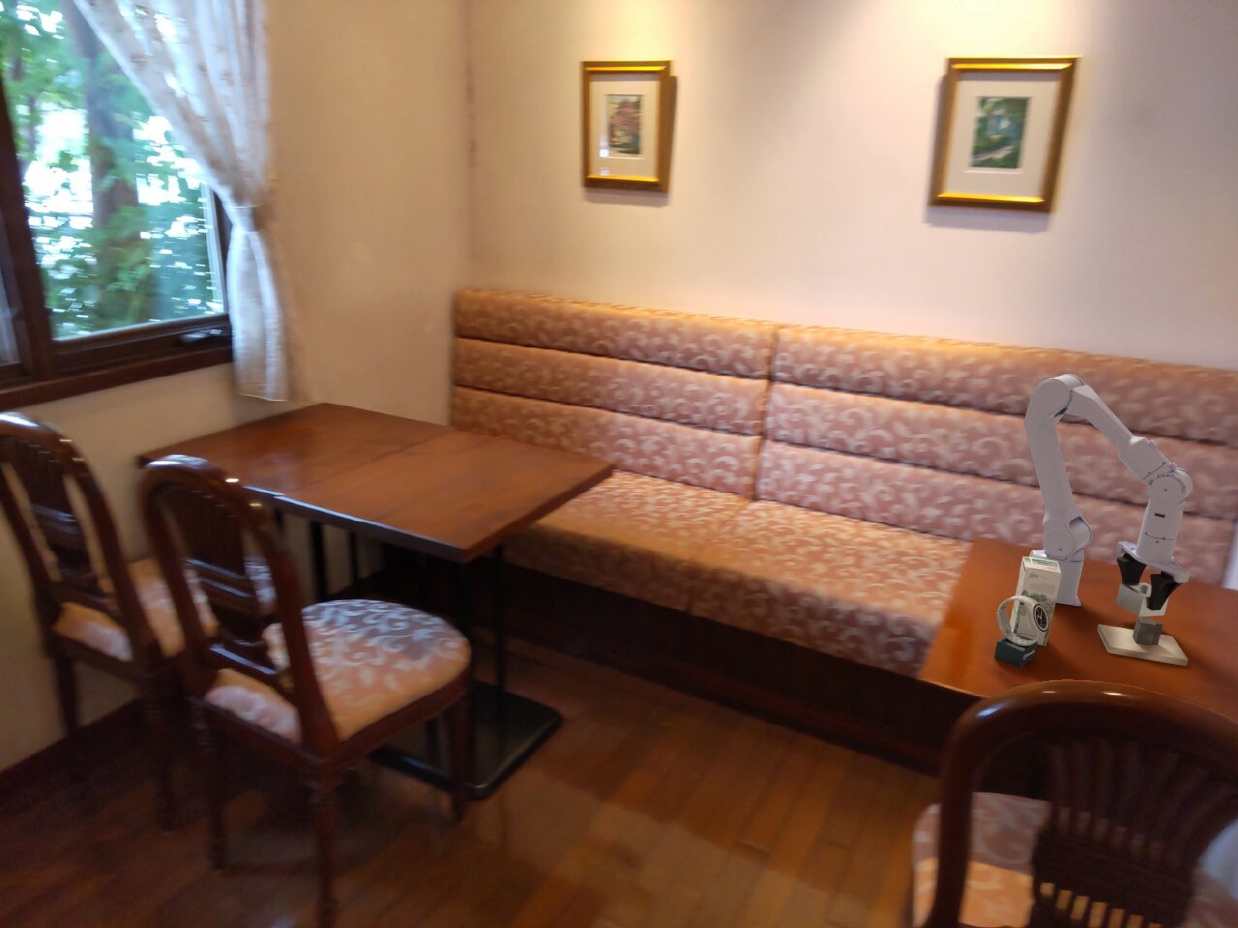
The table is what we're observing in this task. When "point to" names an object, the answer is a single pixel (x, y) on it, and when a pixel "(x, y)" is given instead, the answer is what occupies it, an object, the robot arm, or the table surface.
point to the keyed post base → (1142, 642)
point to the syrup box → (1035, 593)
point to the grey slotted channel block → (1137, 599)
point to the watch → (1017, 646)
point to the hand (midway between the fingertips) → (1141, 601)
